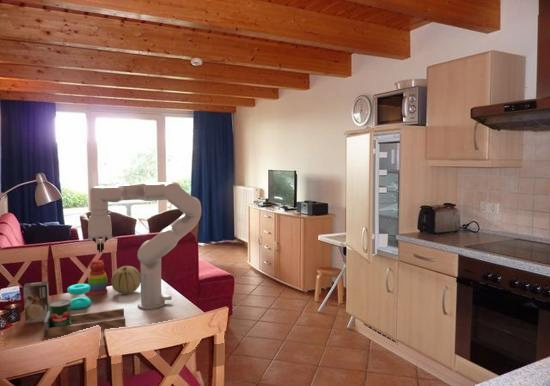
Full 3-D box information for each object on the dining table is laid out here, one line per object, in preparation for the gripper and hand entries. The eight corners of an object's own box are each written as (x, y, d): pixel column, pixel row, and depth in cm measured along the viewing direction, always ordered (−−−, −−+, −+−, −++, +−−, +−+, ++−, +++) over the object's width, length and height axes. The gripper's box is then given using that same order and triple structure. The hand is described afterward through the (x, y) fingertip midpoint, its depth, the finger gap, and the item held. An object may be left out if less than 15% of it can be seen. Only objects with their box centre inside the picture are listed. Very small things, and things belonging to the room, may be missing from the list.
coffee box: (50, 315, 183) (49, 280, 182) (48, 320, 177) (47, 284, 176) (26, 318, 179) (25, 283, 178) (24, 324, 173) (22, 287, 172)
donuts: (69, 283, 198) (91, 282, 201) (69, 303, 199) (92, 301, 202) (65, 289, 189) (88, 287, 192) (66, 310, 189) (89, 308, 192)
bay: (123, 314, 184) (123, 301, 184) (125, 325, 172) (125, 311, 172) (48, 324, 173) (48, 310, 172) (44, 337, 160) (44, 322, 160)
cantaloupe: (138, 287, 225) (137, 261, 224) (144, 295, 213) (143, 266, 212) (109, 291, 218) (108, 264, 217) (114, 299, 205) (113, 270, 204)
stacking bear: (102, 289, 223) (102, 257, 221) (112, 292, 216) (111, 259, 215) (83, 293, 214) (82, 260, 213) (92, 297, 208) (91, 263, 207)
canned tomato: (55, 334, 163) (54, 307, 162) (46, 329, 168) (45, 303, 167) (75, 328, 169) (74, 302, 168) (66, 323, 174) (65, 298, 173)
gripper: (116, 211, 196) (117, 248, 198) (82, 212, 190) (83, 251, 192) (117, 213, 189) (117, 252, 191) (81, 214, 184) (82, 254, 185)
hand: (100, 251), depth 191 cm, fingers closed
